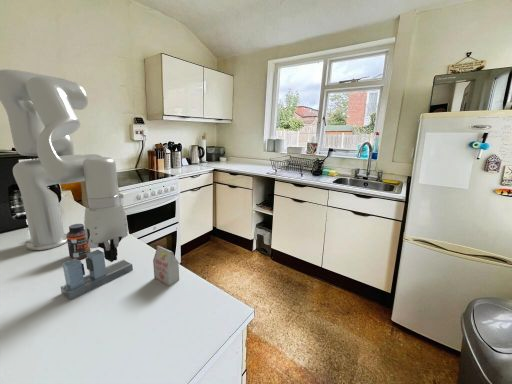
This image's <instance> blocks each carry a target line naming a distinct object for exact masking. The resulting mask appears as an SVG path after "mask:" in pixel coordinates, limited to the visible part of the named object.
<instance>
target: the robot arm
mask: <svg viewBox="0 0 512 384" xmlns="http://www.w3.org/2000/svg"><path fill="white" fill-rule="evenodd" d="M0 102H1V104H2V106H3V108H4V109H5V112H6V115H7V119H8V124H9V128H10V134H11V138H12V142H13V146H14V149H15V151H16V152H17V153H18V154H19V155H21V156H27V157H38V159H27V160H22V161H20V162H19V161H18V162H17V163H16V164H15V165H14V166H13V167H12V174H13V178H14V180H15V183H16V184H17V186H18V188H19V192H20V194H21V198H22V203H23V207H24V212H25V216H26V222H27V227H28V231H29V236H30V240H29V241H27V243H26V248H27V250H30V251H42V250H49V249H54V248H57V247H60V246H62V245H64V244H66V243H67V233H65V231H64V224H63V220H62V214H61V208H60V207H61V206H60V203H59V201H60V200H59V198H58V195H57V194H56V193H55V192H54V191H53V190H51V189H50V188H49V186H53V185H65V184H74V183H79V182H85V188H86V189H85V190H86V197H87V204H88V207H85V209H84V218H83V223H84V224H83V225H84V229H85V237H86V240H89V243H88V247H89V248H90V249H97V248H100V249H103V252H104V259H105V261H108V262H110V263H113V262H114V261H117V260H118V247H119V243H120V242H121V240H122V239H125V238H126V237H128V235H129V233H128V231H129V227H128V226H129V225H128V220H127V215H126V211H125V208H124V206H123V203H122V202H121V200H122V199H124V195H123V193H120V192H119V184H118V183H119V181H118V173H117V164H116V161H115V159H113V158H112V157H109V156H108V157H107V156H102V155H100V154H95V153H93V154H92V153H89V154H75V150H74V143H73V140H72V137H71V136H70V135H72V134H74V133H75V132H77V131H78V130H79V128H80V127H81V121H80V119H79V118H78V117H79V116H77V113H76V111H75V110H78V111H81V110H85V109H86V108H87V107H88V103H89V99H88V94H87V92H86V90H85V89H84V87H83V86H82V85H81V84H79V83H78V82H75V81H72V80H69V79H65V78H61V77H56V76H51V75H46V74H45V75H44V74H39V73H35V72H30V71H29V72H28V71H23V70H18V69H0Z"/></svg>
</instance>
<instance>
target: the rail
mask: <svg viewBox="0 0 512 384" xmlns="http://www.w3.org/2000/svg"><path fill="white" fill-rule="evenodd" d="M105 267H106V275H104V276H101V277H99V278H97V279H94V278H93V277H91V276H90V273H88V274H87V275H86V271H85V264H84V263H82V261H81V260H80V259H76V258H74V259H69V260H67V261H64V262H62V269H63V275H64V278H65V284H64V285H62V286H60V292H61V294H62V295H63V296H64V297H65V298H66V299H67V300H69V301H72V300H74V299H76V298H79V297H81V296H83V295H84V294H87V293H90V291H93V290H94V289H97V288H99V287H101V286H103V285H105V284H107V283H109V282H111V281H113V280H116V279H118V278H121V276H124V275H126V274H128V273H130V272H131V271H133V270H134V269H133V267H134V266H133V264H132V263H131V262H129V261H126V260H125V259H121V260H120V261H119V260H118V261H117V262H115V263H113V264H110V265H107V266H105Z"/></svg>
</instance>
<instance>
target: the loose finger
mask: <svg viewBox="0 0 512 384" xmlns="http://www.w3.org/2000/svg"><path fill="white" fill-rule="evenodd" d="M85 265H86V269H87V271H89V274H90V276H91V277H93V278H94V279H97V278H99V277H101V276H104V275H106V267H107V266H106V259H105V257H104V251H102V250H100V249H96V250H93V251H91V252H90V253H87V257H86V258H85Z"/></svg>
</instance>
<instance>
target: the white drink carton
mask: <svg viewBox="0 0 512 384" xmlns="http://www.w3.org/2000/svg"><path fill="white" fill-rule="evenodd" d="M152 262H153V275H154V279H155V280H157V281H159V282H160V283H163V284H165V285H167V287H170V286H172V285H174V284H175V283H177V282H178V281H179V280H180V267H179V265H180V264H179V261H178V259H177V258H176V256H175V254H174V252H173V251H172V250H169V249H167V248H164V247H163V246H160V245H157V246H156V250H155V254H154V257H153V260H152Z"/></svg>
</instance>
